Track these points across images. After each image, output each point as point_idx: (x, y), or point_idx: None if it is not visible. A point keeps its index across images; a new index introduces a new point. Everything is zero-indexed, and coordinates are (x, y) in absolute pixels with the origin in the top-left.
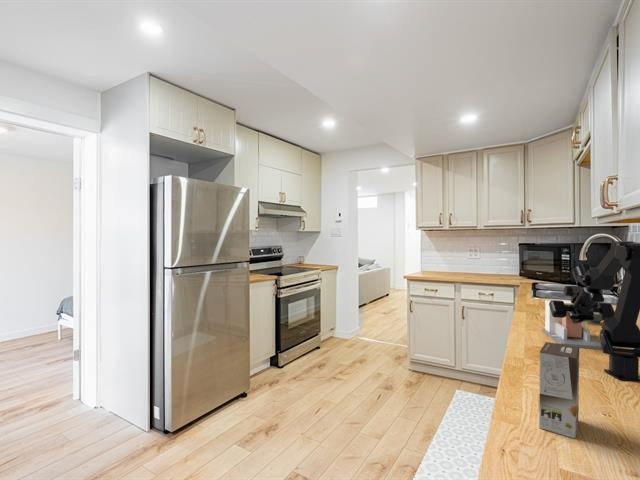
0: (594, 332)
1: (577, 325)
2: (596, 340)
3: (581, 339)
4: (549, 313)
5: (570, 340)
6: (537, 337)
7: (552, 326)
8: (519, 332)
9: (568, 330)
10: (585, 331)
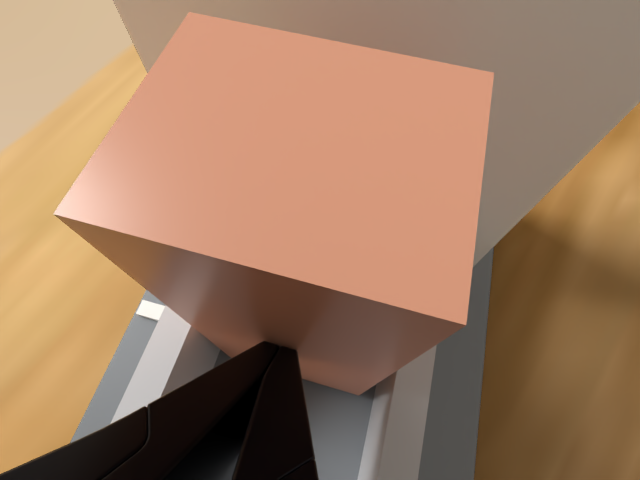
0: (604, 159)
1: (327, 370)
2: (472, 455)
3: (341, 421)
4: (149, 69)
5: None
6: (58, 279)
7: None
8: (35, 159)
9: (240, 352)
10: (376, 456)
